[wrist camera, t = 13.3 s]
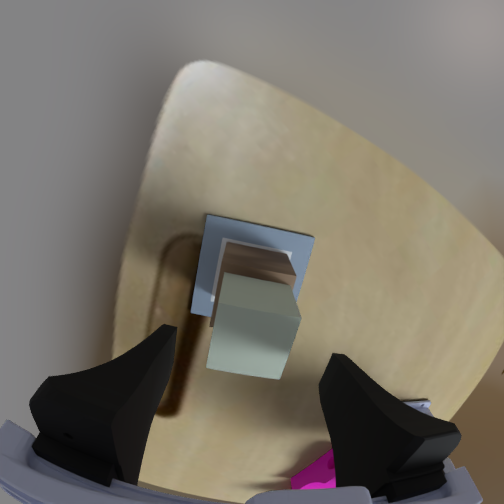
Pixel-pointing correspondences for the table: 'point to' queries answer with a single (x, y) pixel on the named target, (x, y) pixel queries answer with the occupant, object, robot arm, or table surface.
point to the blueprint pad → (249, 235)
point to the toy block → (317, 474)
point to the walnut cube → (253, 267)
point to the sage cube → (253, 327)
